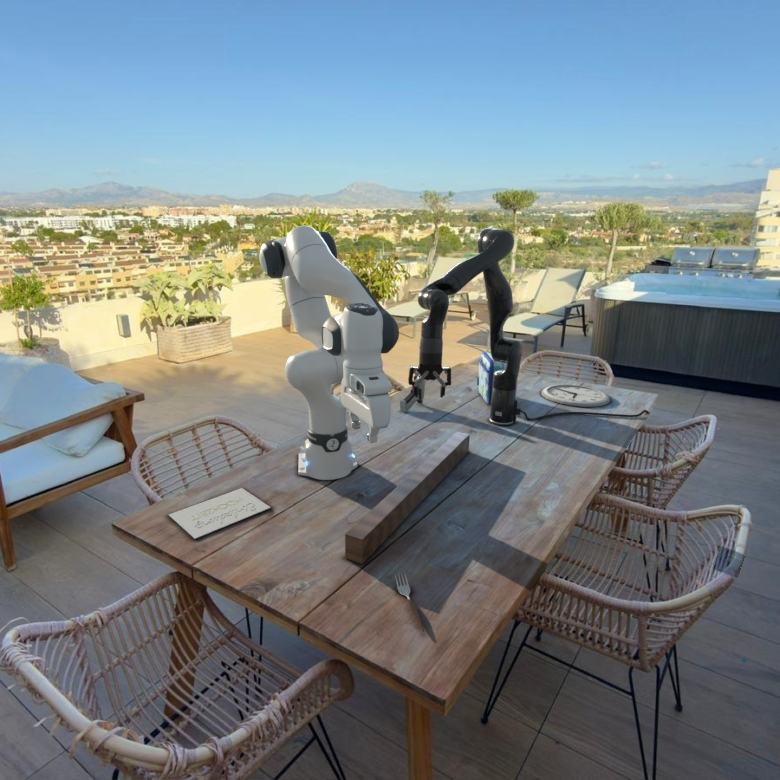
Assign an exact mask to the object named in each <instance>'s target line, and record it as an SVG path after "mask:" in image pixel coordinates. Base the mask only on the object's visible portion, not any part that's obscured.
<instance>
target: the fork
mask: <svg viewBox="0 0 780 780" xmlns="http://www.w3.org/2000/svg"><path fill="white" fill-rule="evenodd" d="M403 573H404V576H403ZM397 574H398V578H397ZM397 574H396V573H394V575H395V577H394V578H395V582H396V588H397V591H398V593H399V594H400V595H402V596H404V597H406V598H407V601H408V605H409V609H410V612H411V613H412V615H413V617H414V619H415V620H416V622H417V625H419V628H420V630H422V632H425V628H424V624H423V623H422V619H421V616H420V614H419V611H418V609H417V606H416V605H415V603H414V602H413V600H412V599H411V598H410V594H411V588H410V584H409V582H408V579H407V575H406V572H401V577H400V574H399V573H397ZM401 580H402V581H401ZM398 581H399V582H398Z"/></svg>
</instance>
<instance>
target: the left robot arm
mask: <svg viewBox="0 0 780 780" xmlns="http://www.w3.org/2000/svg"><path fill="white" fill-rule="evenodd" d="M258 256H259V257H258V259H259V264H260V266H261V269H262V270H263V272H264V273H265V275H266V276H267V277H268V278H271V279H282V278H285V279H284V287H285V295H286V299H287V304H288V308H289V310H290V314H291V319H292V322H293V325H294V329H295V331H296V332H297V335H298V336H299V337H300V338H302V339H305V340H307V341H309V342H311V343H312V344H313V345H314V346H315V349H309V350H304V351H300V352H297V353H295V354H293V355H291V356H289V357H288V358H287V360H286V362H285V366H284V375H285V378H286V380H287V382H288V383H289V385H291V387H293V388H294V389H296V390H297V391H298V392H300V393H301V395H303V397H304V400H305V401H306V404H307V409H308V410H307V411H308V421H309V427H308V430H307V439H306V440H305V441H304V445H303V446H300V447H299V452H298V471H297V472H298V475H299V476H302V477H303V476H304V477H308V478H312V479H315V480H319V481H331V480H333V481H334V480H339V479H342V478H344V477H345V478H346V477H347V476H348V475H349V474H351V473H352V471H354V470H355V469H357V468H358V467H359V463H358V462H357V461H356V460H354V459H355V458H356V456H355V454H354V453H353V443H352V442H351V441H350V440H349V439H348V437H349V430H348V425H347V410H348V415H349V419H350V423H351V424H350V425H351V428H352V429H353V430H359V429H361V421H362V422H363V423H365V424H366V425H368V433H367V434H366V440H367V441H368V442H369V443H371V444H375V443H377V442H378V434H379V432H380V430H381V429H382V430H383V429H386V428H388V427H389V425H390V423H391V407H392V406H391V396H390V393H392V391H393V384H392V382H391V380H389V378H388V376H387V375H386V373H385V371H384V368H383V364H384V363H383V359H382V354H389V353H390V352H391V351H392V349H393V348H395V346H396V344H397V342H398V341H399V337H400V329H399V325H398V323H397V320H396V319H395V318H394V316H393V315H392V314H391V313H389V311H387V310H386V309H385V308H384V307H383V306H382V305H381V304H380V303H379V301H378V300H377V299H376V297H375V296H374V294H373V293H372V292H371V291H370V289H369V288H368V286H367V284H366V283H364V281H363V280H362V279H361V277H360V276H358V274H356V273H355V272H354V271H353V270H352V269H350V268H348V267H346V266H345V265H343V264H342V263H341V262H340V261H339V260H338V246H337V243H336V241H335V239H334V236H333V235H332V234H331V233H330V232H329V231H324V230H316V229H315V228H314V227H312V226H309V225H298V226H296V227H294V228H292V229H291V230H290V231H289V232H288V234H287V236H283V237H280V238H277V239H269V240H267V241H266V242H264V243H262V245H261V246H260V248H259V255H258ZM326 296H329V297H333V298H334V297H335V298H339V299H342V300H344V301H347V302H348V303H349V304H347V305H345V307H344V309H343V311H342V312H341V313H339V314H336V315H333V316H332V314H331V311H330V308H329V305H328V302H327V298H326ZM336 384H340V397H339V396H337V395H335V394H332V389H331V386H332V385H336ZM360 420H361V421H360Z"/></svg>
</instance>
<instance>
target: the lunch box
mask: <svg viewBox="0 0 780 780" xmlns="http://www.w3.org/2000/svg"><path fill="white" fill-rule="evenodd" d="M506 366H507V363H503V362H498V361H495V360H493V358H492V356H491V351H482V352H481V354H480V358H479V360H478V377H477V381H476V384H477V385H476V386H478V393H479V395H480V396H481V397H482V399H483V400H484V402H485V404H487V405H488V406H489V405H490V406H491V398H492V385H493V374H494V372H495V371H497V370H503V369H506Z"/></svg>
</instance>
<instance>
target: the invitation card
mask: <svg viewBox="0 0 780 780" xmlns="http://www.w3.org/2000/svg"><path fill="white" fill-rule="evenodd" d="M269 509H271V506H270V505H268V504H267V503H265V502H264V501H262V500H261V499H259V498H258V497H256V496H255V495H253V494H252V493H250V492H249V491H247V490H246V489H244V488H243V487H239V488H238V489H234V490H233V491H229V492H227V493H224V494H221V495H219V496H216V497H213V498H210V499H207V500H204V501H202V502H199V503H196V504H194V505H191V506H187V507H186V508H182V509H180V510H177V511H174V512H172V513H169V514H168V516H169V517H170V519H172V520H173V522H175V523H176V524H177V525H178V526H179V527H181V528H182V529H183V530H184V532H186V533H187V534H188V535H190V537H191V538H193V539H194V540H196V539H199V538H201V537H204V536H207V535H208V534H211V533H214V532H216V531H218V530H220V529H223V528H225V527H228V526H231V525H233V524H235V523H239V522H240V521H243V520H246V519H247V518H250V517H252V516H254V515H257V514H260V513H263V512H265V511H267V510H269Z"/></svg>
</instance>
